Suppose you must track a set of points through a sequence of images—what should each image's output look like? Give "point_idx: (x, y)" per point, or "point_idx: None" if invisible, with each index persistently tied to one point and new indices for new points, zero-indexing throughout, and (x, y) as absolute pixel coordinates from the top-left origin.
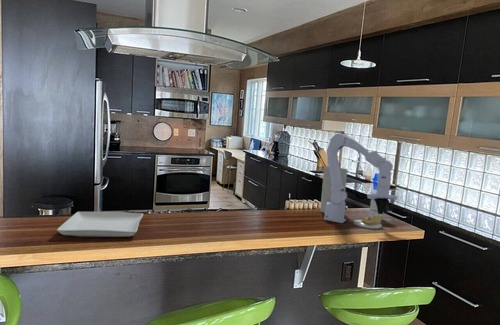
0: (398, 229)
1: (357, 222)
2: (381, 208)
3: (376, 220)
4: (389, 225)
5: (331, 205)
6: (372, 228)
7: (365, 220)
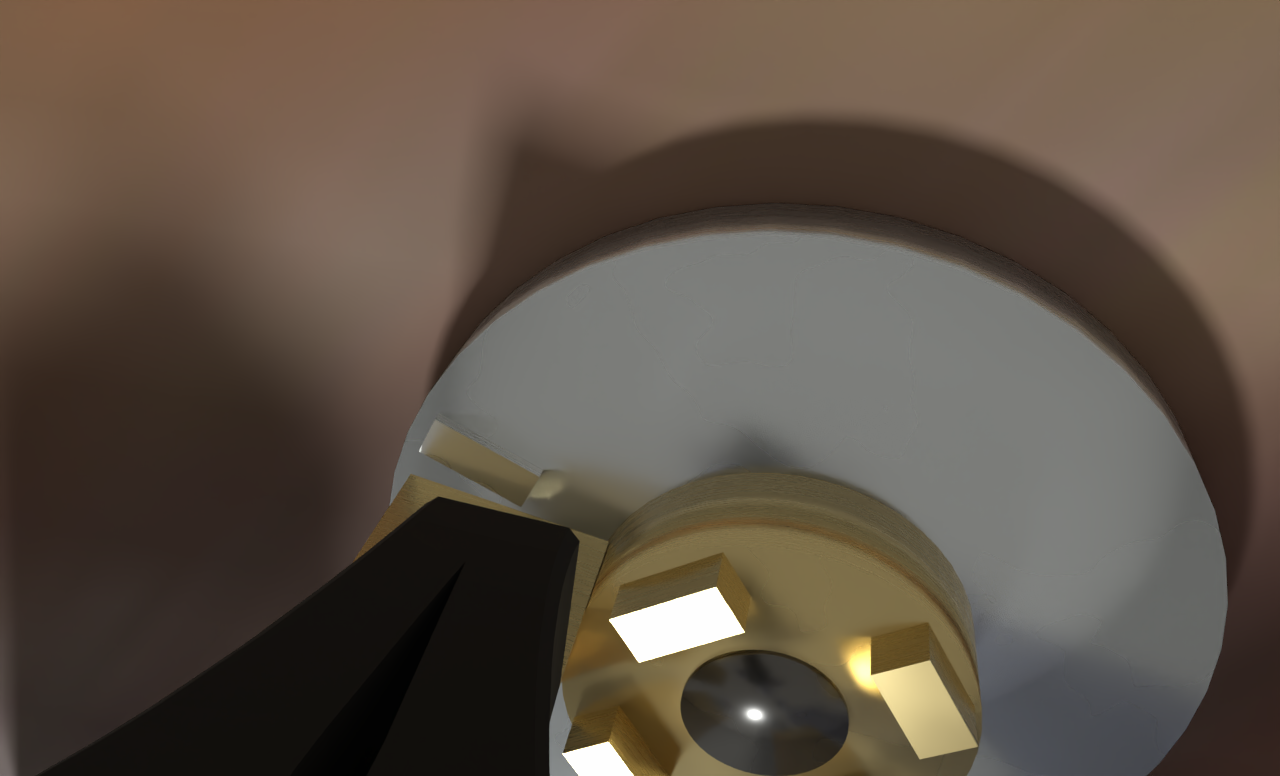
0: (12, 74)
1: (1087, 729)
2: (463, 752)
3: None
4: (97, 448)
5: None
6: (957, 246)
7: (969, 653)
